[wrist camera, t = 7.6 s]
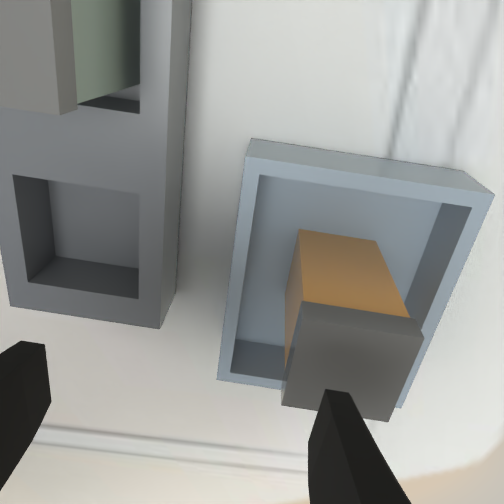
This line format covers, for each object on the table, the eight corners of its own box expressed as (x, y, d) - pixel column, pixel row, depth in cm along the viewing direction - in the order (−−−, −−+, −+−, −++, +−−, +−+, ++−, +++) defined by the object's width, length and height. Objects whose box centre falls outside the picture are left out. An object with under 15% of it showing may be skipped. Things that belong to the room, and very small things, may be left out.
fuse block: (175, 293, 22) (159, 329, 19) (44, 273, 22) (10, 306, 19) (196, -91, 14) (176, -120, 11) (-4, -121, 14) (-71, -158, 11)
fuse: (144, 86, 16) (59, 115, 10) (51, 71, 16) (-91, 92, 10) (145, -27, 15) (44, -74, 8) (41, -43, 15) (-138, -102, 8)
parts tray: (387, 365, 23) (401, 408, 20) (224, 339, 23) (216, 379, 20) (463, 171, 18) (495, 194, 15) (251, 138, 18) (245, 155, 15)
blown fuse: (357, 306, 21) (388, 422, 14) (282, 294, 21) (281, 405, 14) (378, 239, 19) (424, 338, 13) (296, 226, 19) (302, 319, 13)
